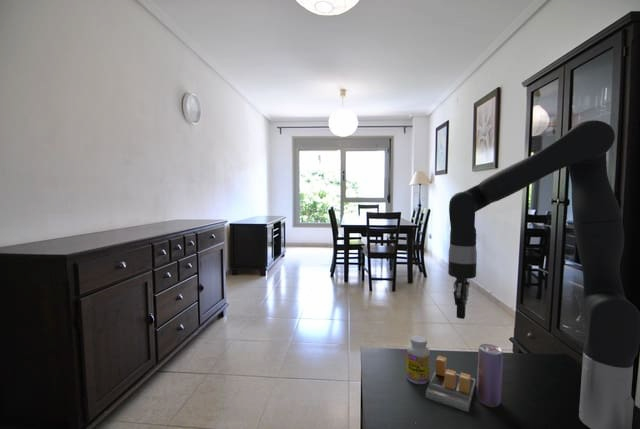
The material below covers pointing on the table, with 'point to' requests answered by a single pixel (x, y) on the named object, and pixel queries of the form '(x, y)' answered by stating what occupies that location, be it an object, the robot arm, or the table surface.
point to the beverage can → (489, 375)
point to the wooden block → (441, 365)
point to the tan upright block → (464, 383)
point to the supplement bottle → (418, 360)
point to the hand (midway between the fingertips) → (460, 317)
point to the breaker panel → (449, 393)
